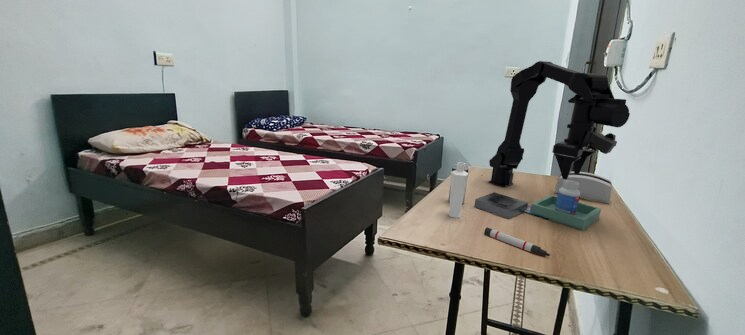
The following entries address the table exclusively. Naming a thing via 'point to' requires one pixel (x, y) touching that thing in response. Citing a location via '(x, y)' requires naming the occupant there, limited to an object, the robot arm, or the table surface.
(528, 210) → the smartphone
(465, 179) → the perfume bottle
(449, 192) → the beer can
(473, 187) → the table surface
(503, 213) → the gray square holder
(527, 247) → the marker
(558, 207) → the pill bottle
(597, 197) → the napkin holder
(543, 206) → the tray
